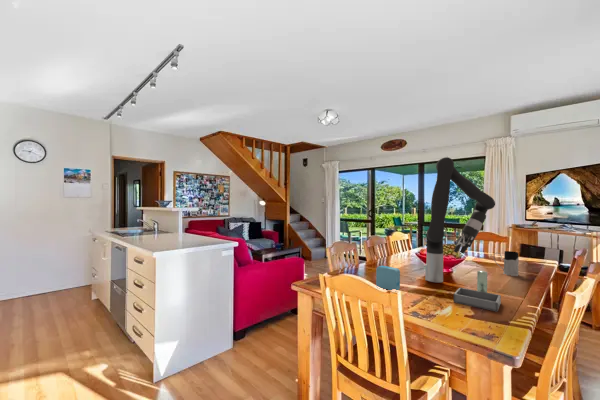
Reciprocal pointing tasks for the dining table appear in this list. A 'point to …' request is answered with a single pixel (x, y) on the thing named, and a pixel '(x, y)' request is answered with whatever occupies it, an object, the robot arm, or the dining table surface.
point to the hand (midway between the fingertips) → (458, 252)
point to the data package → (388, 277)
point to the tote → (477, 299)
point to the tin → (482, 281)
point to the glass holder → (510, 263)
